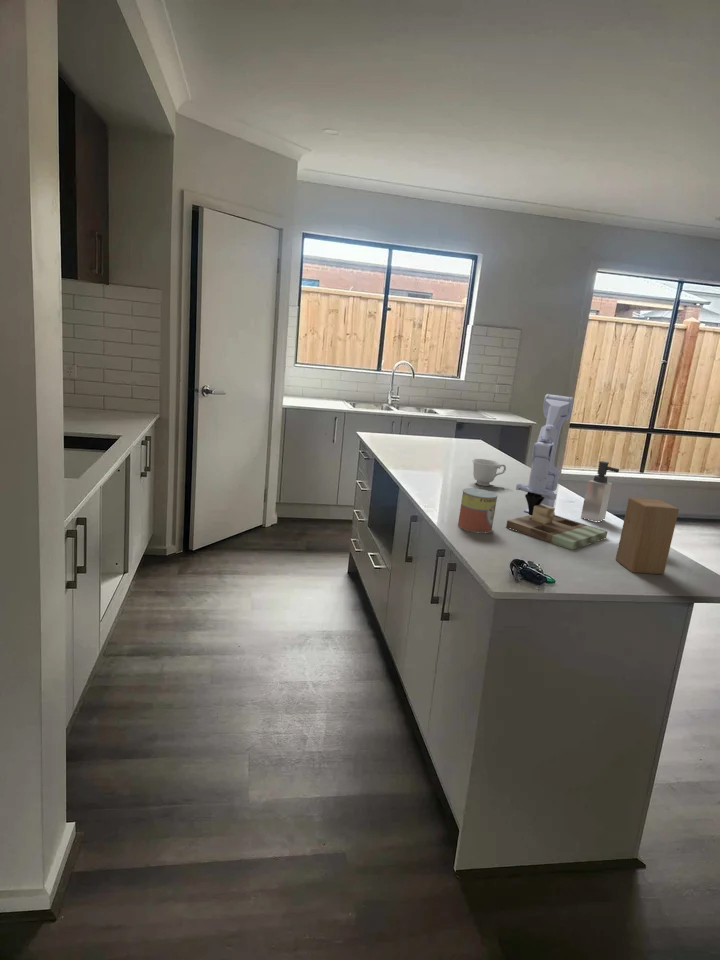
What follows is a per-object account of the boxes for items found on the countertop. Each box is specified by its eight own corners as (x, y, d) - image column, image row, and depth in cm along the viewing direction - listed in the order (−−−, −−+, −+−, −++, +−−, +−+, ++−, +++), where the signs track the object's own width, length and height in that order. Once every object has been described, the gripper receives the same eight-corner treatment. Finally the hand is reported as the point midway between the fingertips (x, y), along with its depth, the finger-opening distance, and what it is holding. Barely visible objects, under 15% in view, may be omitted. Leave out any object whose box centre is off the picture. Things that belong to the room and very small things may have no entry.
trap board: (542, 518, 226) (544, 511, 225) (606, 538, 209) (607, 531, 209) (506, 527, 209) (507, 520, 209) (571, 549, 193) (573, 542, 192)
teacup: (505, 489, 266) (509, 467, 263) (471, 486, 265) (474, 463, 263) (500, 483, 277) (503, 461, 275) (467, 479, 277) (470, 457, 275)
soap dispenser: (603, 524, 226) (615, 466, 221) (580, 518, 232) (591, 460, 227) (610, 522, 231) (622, 464, 226) (587, 515, 237) (598, 459, 232)
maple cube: (539, 517, 216) (541, 504, 215) (552, 522, 213) (554, 508, 212) (531, 519, 213) (534, 505, 212) (544, 523, 209) (547, 509, 208)
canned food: (484, 535, 198) (490, 499, 195) (452, 526, 203) (457, 491, 201) (496, 528, 207) (502, 493, 205) (465, 520, 213) (470, 486, 210)
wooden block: (614, 560, 188) (628, 496, 183) (646, 562, 189) (660, 499, 184) (631, 572, 178) (646, 506, 173) (664, 575, 179) (679, 508, 174)
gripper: (513, 472, 215) (507, 510, 218) (551, 482, 205) (544, 522, 208) (525, 471, 220) (518, 508, 223) (562, 481, 209) (555, 519, 213)
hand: (531, 514), depth 216 cm, fingers closed
